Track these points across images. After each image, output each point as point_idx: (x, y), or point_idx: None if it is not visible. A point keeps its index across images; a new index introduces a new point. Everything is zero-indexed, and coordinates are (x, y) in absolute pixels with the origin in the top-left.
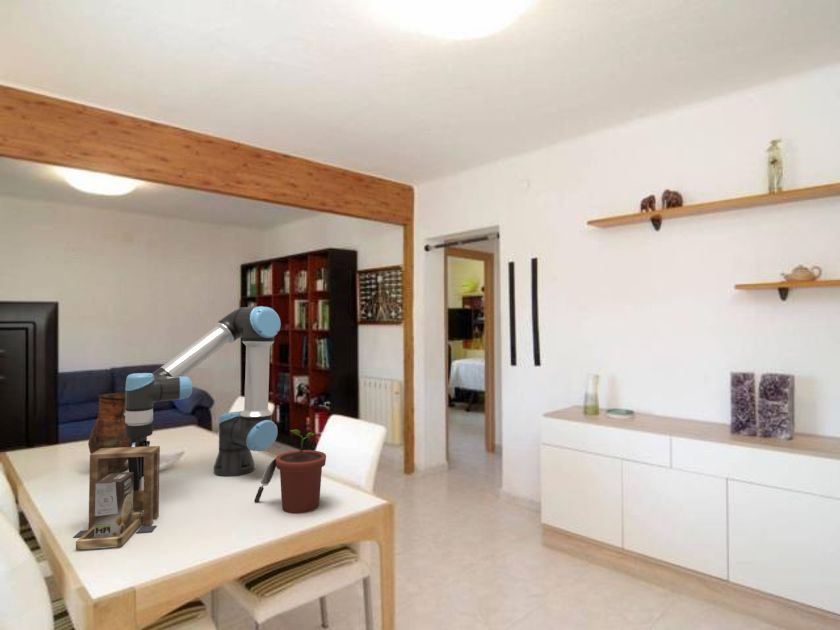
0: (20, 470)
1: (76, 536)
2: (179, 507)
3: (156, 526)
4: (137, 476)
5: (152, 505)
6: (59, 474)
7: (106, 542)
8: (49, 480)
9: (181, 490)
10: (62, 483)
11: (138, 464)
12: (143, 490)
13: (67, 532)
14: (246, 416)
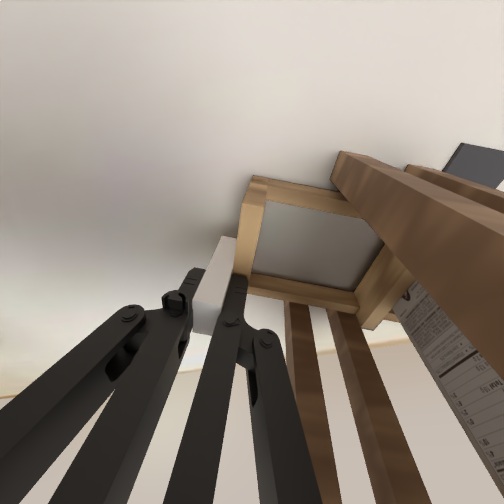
0: (13, 392)
1: (376, 326)
2: (255, 56)
3: (464, 143)
4: (280, 351)
5: (479, 188)
6: (9, 365)
7: None
8: (42, 371)
9: (14, 84)
10: (51, 360)
11: (273, 468)
12: (247, 256)
13: (328, 337)
14: None
